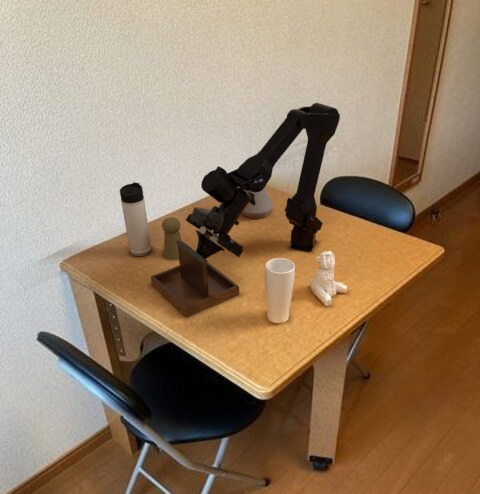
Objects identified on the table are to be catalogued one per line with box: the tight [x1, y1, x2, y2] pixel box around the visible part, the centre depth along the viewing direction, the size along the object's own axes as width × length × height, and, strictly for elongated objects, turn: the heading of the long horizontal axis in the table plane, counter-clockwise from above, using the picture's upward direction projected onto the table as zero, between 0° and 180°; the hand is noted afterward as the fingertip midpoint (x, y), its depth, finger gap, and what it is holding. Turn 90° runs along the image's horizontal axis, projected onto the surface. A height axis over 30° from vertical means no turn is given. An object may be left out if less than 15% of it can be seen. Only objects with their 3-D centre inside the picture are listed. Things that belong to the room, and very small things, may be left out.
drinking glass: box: [264, 257, 296, 324], centre depth 116 cm, size 7×7×15 cm
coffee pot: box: [237, 186, 274, 220], centre depth 157 cm, size 21×12×15 cm, turn 144°
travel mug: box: [119, 181, 152, 257], centre depth 141 cm, size 6×7×20 cm
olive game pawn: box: [161, 217, 182, 260], centre depth 142 cm, size 6×6×11 cm
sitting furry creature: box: [309, 249, 348, 307], centre depth 125 cm, size 10×9×12 cm
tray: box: [150, 239, 240, 318], centre depth 127 cm, size 16×18×12 cm
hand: (195, 262), depth 126 cm, fingers closed
